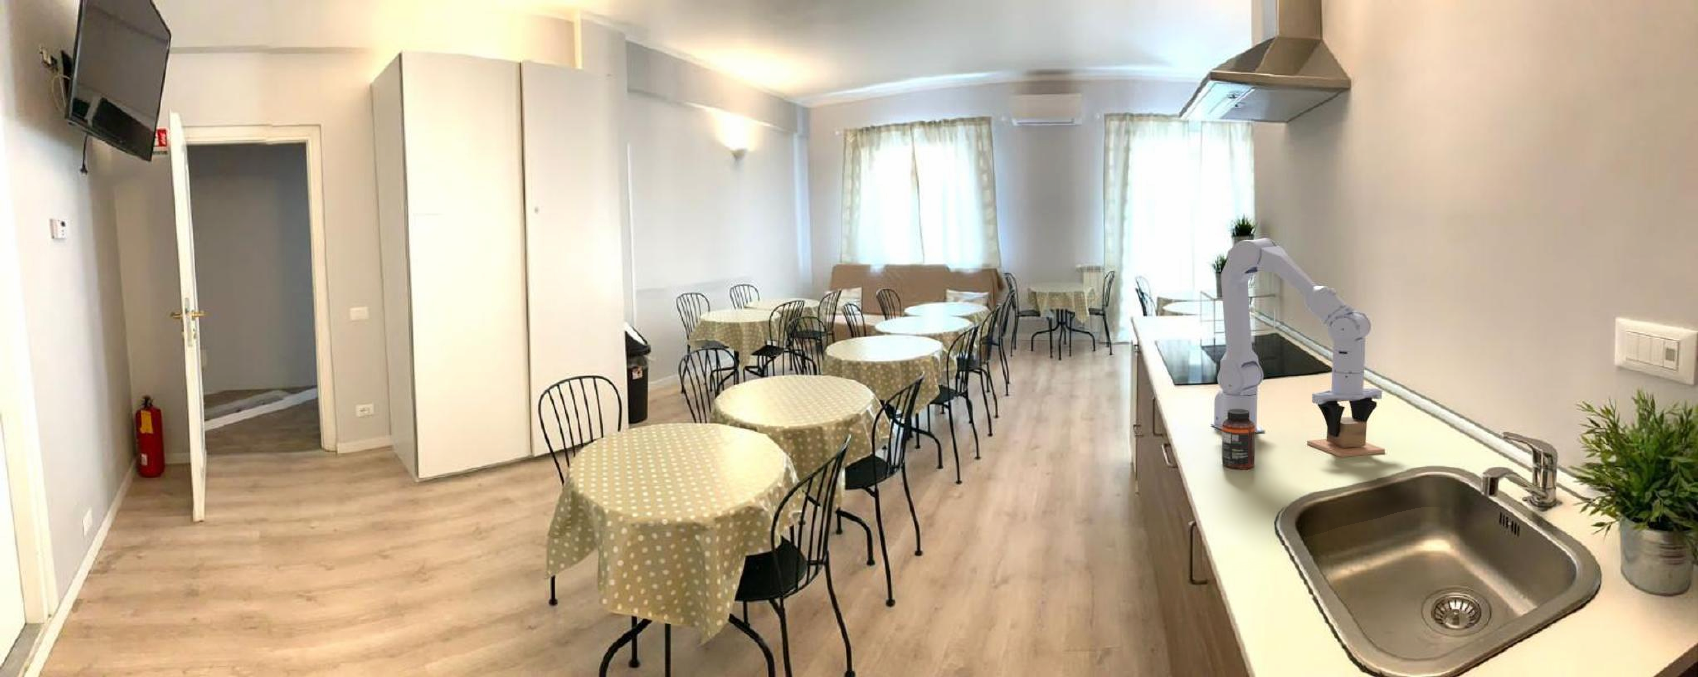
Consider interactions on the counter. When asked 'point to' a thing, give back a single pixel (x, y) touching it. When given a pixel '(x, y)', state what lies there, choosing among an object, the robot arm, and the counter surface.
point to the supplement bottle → (1238, 440)
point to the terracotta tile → (1347, 451)
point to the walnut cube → (1350, 433)
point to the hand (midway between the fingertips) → (1345, 434)
